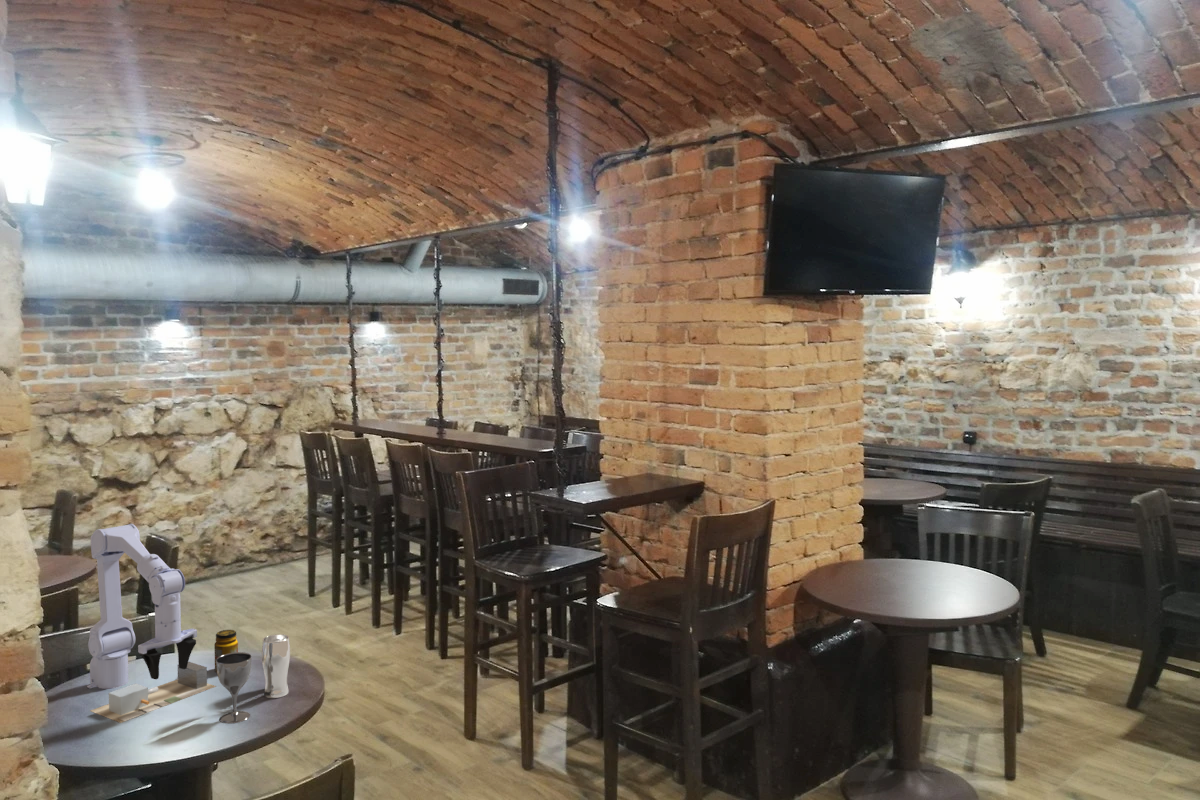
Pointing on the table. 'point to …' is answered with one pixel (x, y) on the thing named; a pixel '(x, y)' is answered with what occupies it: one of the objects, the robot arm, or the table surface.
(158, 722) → the table surface
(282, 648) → the beer glass
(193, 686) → the grey rectangular block
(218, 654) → the condiment
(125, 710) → the light grey block
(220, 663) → the wine glass
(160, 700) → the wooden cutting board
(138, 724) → the table surface
